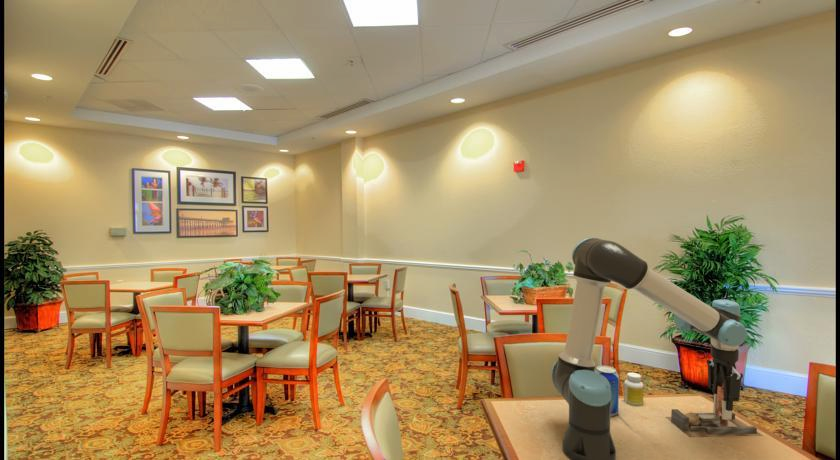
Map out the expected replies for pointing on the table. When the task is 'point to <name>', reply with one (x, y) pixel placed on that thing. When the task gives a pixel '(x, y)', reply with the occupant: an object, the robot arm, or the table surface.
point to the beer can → (611, 385)
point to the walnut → (693, 419)
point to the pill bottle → (633, 390)
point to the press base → (711, 427)
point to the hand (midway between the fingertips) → (722, 415)
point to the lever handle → (717, 419)
